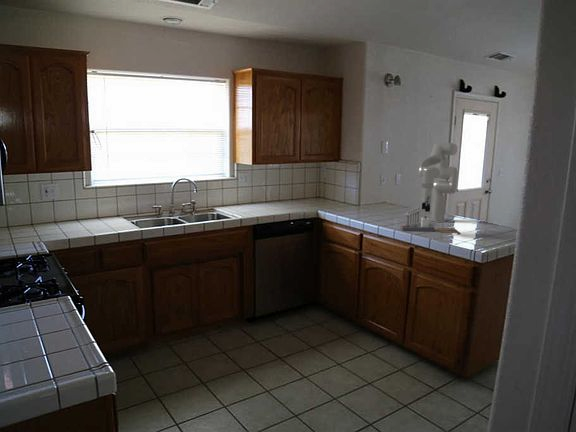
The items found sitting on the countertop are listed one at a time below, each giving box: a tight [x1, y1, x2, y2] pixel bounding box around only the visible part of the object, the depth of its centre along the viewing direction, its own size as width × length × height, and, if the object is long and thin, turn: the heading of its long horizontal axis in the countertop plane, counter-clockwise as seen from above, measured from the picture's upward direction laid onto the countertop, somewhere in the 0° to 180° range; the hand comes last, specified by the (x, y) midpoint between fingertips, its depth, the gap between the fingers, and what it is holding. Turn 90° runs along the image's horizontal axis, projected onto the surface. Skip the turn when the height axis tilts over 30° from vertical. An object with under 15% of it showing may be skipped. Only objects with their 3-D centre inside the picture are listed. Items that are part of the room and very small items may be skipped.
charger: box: [420, 215, 430, 227], centre depth 309 cm, size 4×4×10 cm
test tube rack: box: [403, 206, 423, 225], centre depth 324 cm, size 25×4×13 cm, turn 142°
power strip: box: [400, 224, 436, 232], centre depth 310 cm, size 7×22×4 cm, turn 86°
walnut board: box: [435, 227, 461, 235], centre depth 309 cm, size 13×13×1 cm
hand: (425, 210), depth 306 cm, fingers open, 9 cm apart
